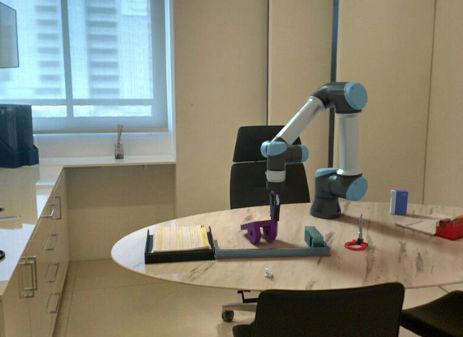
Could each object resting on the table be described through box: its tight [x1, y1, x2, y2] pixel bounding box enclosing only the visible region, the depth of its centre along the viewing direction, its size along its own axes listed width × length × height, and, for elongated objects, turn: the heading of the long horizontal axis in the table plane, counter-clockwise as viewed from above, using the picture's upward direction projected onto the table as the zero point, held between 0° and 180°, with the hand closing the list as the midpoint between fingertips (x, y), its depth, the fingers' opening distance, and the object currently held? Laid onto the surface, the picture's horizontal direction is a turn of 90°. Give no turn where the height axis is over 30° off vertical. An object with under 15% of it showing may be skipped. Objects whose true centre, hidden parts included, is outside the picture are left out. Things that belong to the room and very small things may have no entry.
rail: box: [212, 225, 331, 260], centre depth 192 cm, size 44×24×6 cm, turn 95°
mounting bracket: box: [239, 219, 278, 244], centre depth 201 cm, size 10×8×18 cm
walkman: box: [389, 189, 409, 215], centre depth 241 cm, size 8×3×12 cm, turn 88°
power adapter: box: [264, 267, 274, 278], centre depth 163 cm, size 3×3×3 cm
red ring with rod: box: [343, 213, 369, 252], centre depth 192 cm, size 8×13×9 cm
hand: (273, 235), depth 201 cm, fingers closed
